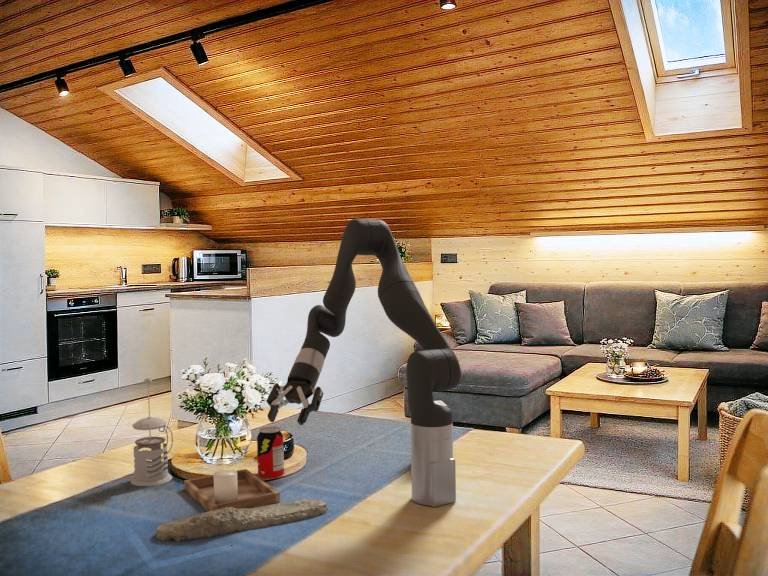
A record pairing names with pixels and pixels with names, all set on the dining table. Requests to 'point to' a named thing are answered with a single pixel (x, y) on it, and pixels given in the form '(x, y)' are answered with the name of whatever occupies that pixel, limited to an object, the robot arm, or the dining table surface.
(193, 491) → the tray
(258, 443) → the beverage can
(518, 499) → the dining table surface
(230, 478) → the frosted white cylinder
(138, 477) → the french press
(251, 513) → the long grey stone
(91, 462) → the dining table surface
